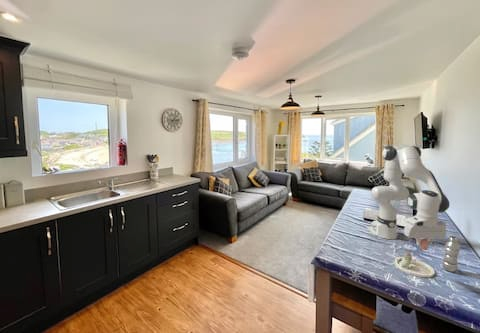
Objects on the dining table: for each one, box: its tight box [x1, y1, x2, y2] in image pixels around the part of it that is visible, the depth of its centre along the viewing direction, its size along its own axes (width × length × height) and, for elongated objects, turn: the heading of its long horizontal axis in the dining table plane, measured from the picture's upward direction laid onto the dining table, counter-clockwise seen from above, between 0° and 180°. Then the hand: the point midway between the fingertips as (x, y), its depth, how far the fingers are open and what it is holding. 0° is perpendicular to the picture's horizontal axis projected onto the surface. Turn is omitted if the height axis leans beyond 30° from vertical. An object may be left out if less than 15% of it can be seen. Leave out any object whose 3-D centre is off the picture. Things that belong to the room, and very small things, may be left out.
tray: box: [394, 256, 436, 279], centre depth 129 cm, size 18×18×2 cm
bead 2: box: [401, 258, 410, 269], centre depth 129 cm, size 4×4×5 cm
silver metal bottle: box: [441, 235, 461, 273], centre depth 127 cm, size 6×7×20 cm
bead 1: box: [403, 252, 413, 264], centre depth 134 cm, size 4×4×5 cm
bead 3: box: [418, 238, 429, 251], centre depth 122 cm, size 4×4×5 cm
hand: (423, 244), depth 122 cm, fingers closed on bead 3, 4 cm apart
